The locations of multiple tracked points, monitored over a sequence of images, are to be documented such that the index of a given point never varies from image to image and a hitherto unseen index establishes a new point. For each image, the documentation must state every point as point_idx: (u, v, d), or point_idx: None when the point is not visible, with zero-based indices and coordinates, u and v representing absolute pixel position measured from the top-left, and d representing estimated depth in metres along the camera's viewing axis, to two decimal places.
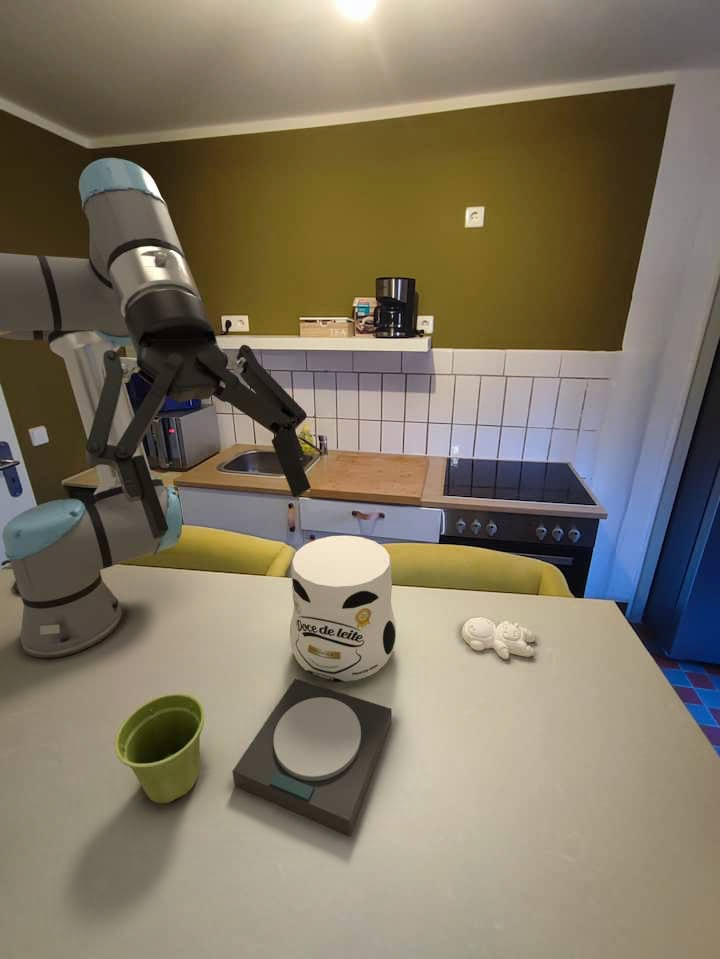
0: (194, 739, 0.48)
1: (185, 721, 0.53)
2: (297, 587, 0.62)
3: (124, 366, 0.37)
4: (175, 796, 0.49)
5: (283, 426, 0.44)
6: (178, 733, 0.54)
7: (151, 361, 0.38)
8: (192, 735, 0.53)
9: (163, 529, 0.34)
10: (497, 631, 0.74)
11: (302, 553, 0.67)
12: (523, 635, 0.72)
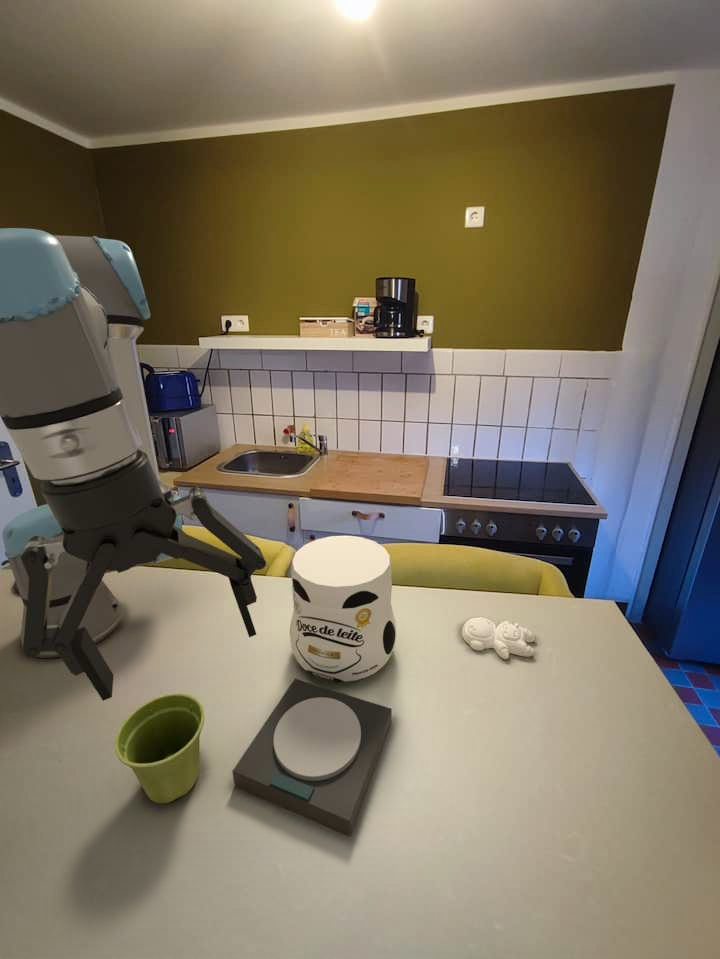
0: (194, 739, 0.48)
1: (185, 721, 0.53)
2: (297, 587, 0.62)
3: (48, 565, 0.33)
4: (175, 796, 0.49)
5: None
6: (178, 733, 0.54)
7: (79, 549, 0.33)
8: (192, 735, 0.53)
9: (107, 698, 0.39)
10: (497, 631, 0.74)
11: (302, 553, 0.67)
12: (523, 635, 0.72)
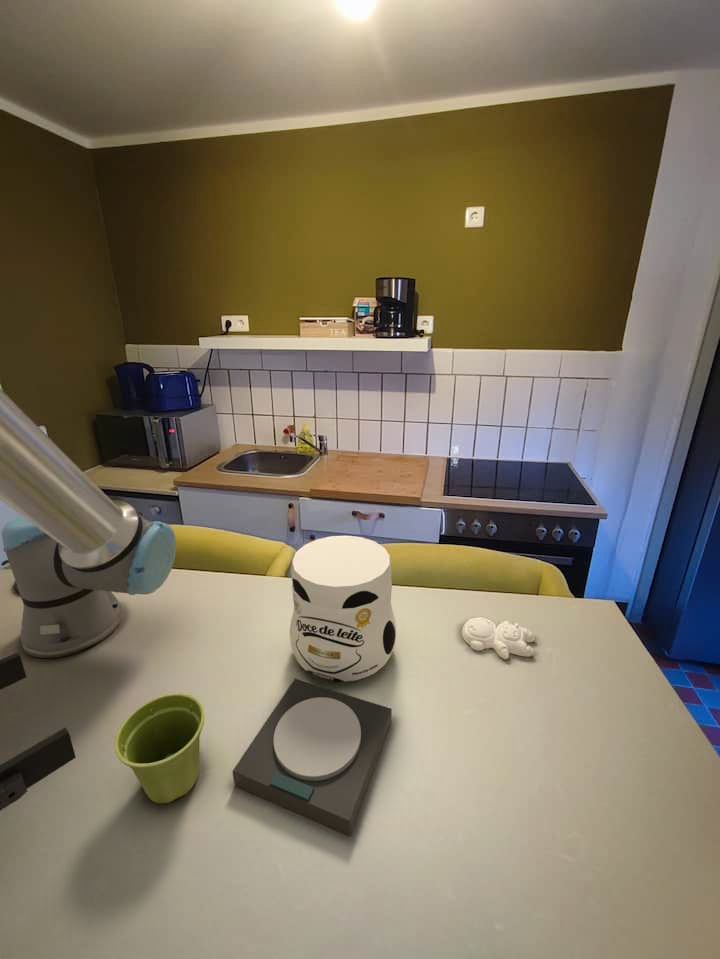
0: (194, 739, 0.48)
1: (185, 721, 0.53)
2: (297, 587, 0.62)
3: None
4: (175, 796, 0.49)
5: None
6: (178, 733, 0.54)
7: None
8: (192, 735, 0.53)
9: None
10: (497, 631, 0.74)
11: (302, 553, 0.67)
12: (523, 635, 0.72)
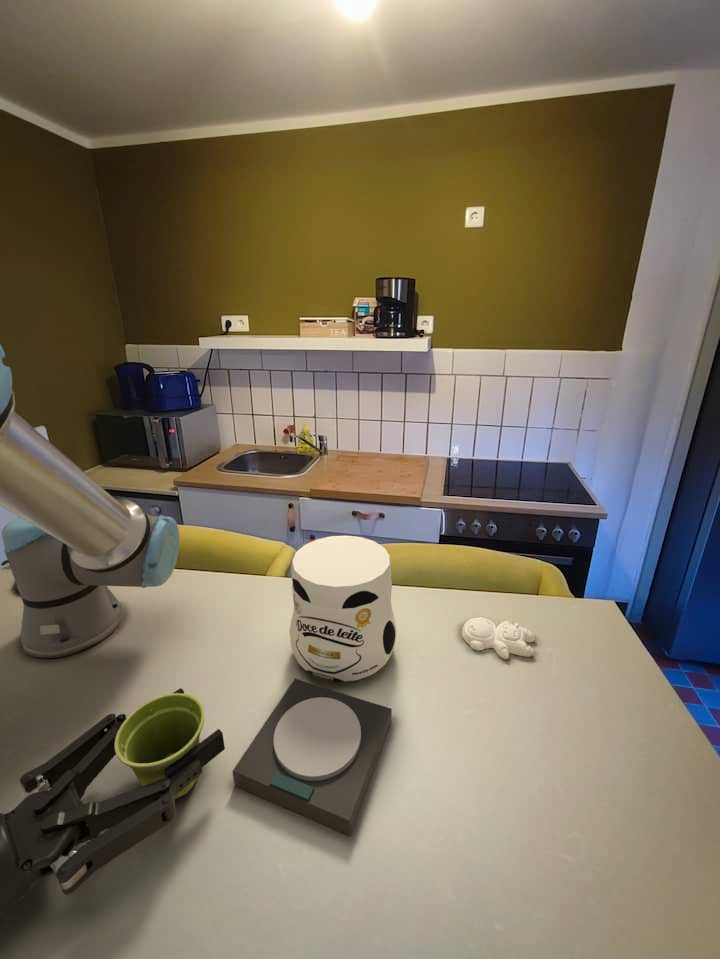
0: (194, 739, 0.48)
1: (185, 721, 0.53)
2: (297, 587, 0.62)
3: None
4: None
5: None
6: (178, 733, 0.54)
7: None
8: (192, 735, 0.53)
9: None
10: (497, 631, 0.74)
11: (302, 553, 0.67)
12: (523, 635, 0.72)
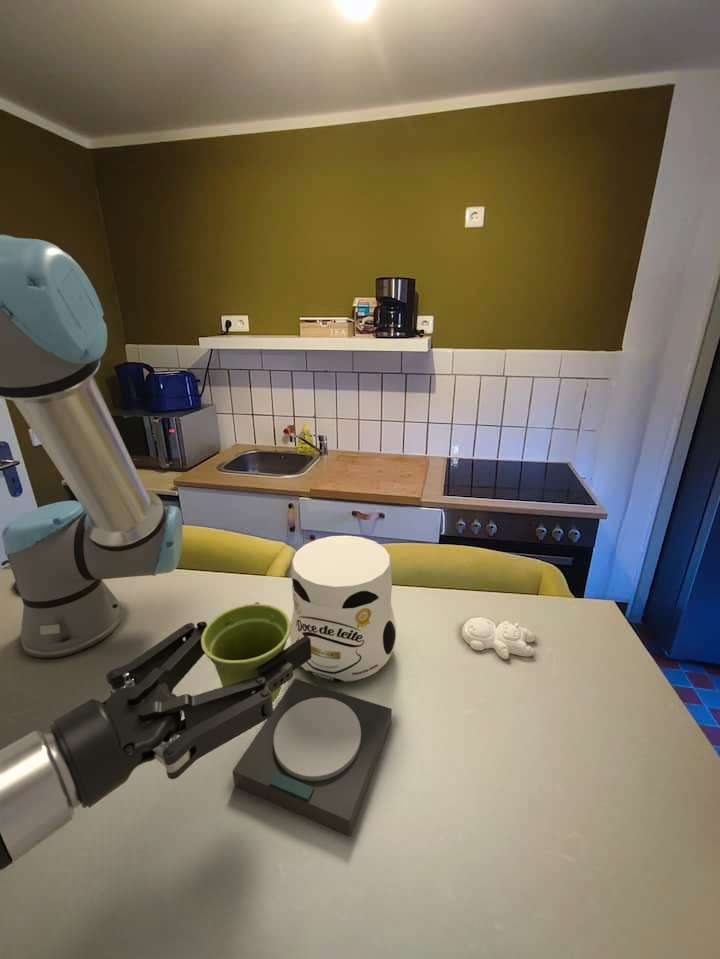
0: (284, 641, 0.45)
1: (265, 633, 0.51)
2: (297, 587, 0.62)
3: None
4: None
5: None
6: (257, 646, 0.52)
7: None
8: (272, 648, 0.51)
9: None
10: (497, 631, 0.74)
11: (302, 553, 0.67)
12: (523, 635, 0.72)
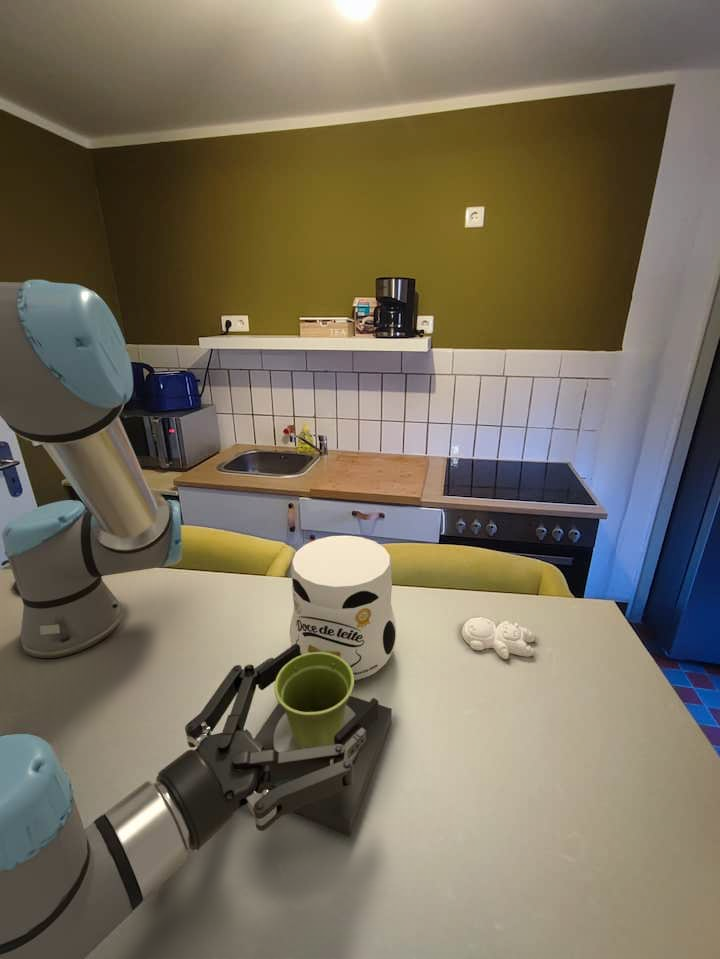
0: (351, 691, 0.50)
1: (326, 679, 0.55)
2: (297, 587, 0.62)
3: None
4: None
5: None
6: (317, 691, 0.56)
7: None
8: (332, 692, 0.55)
9: None
10: (497, 631, 0.74)
11: (302, 553, 0.67)
12: (523, 635, 0.72)
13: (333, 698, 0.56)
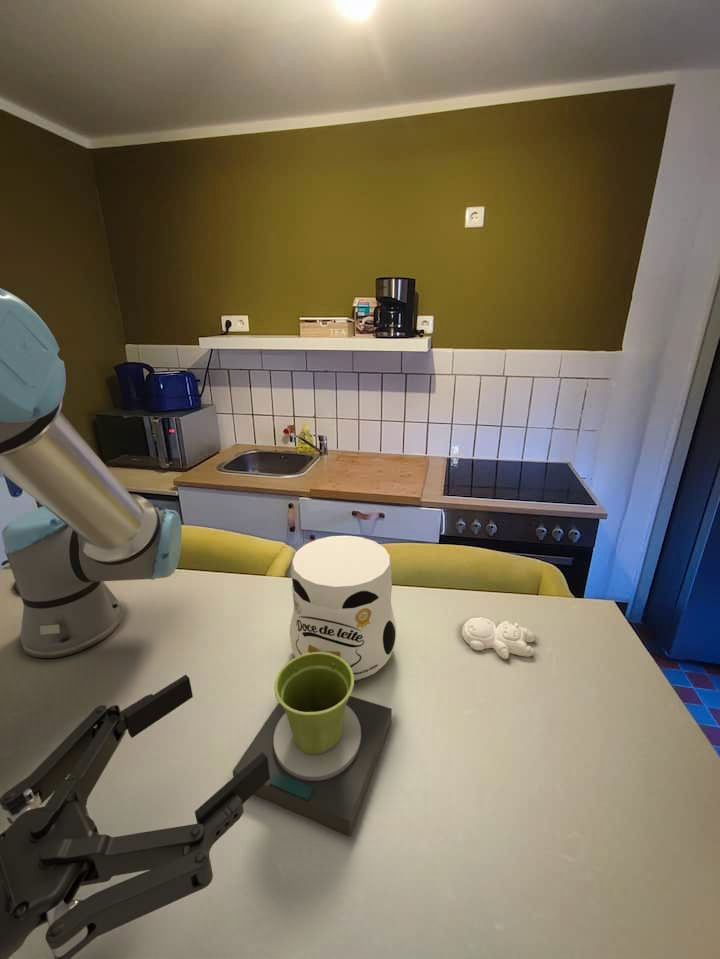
0: (351, 691, 0.50)
1: (326, 679, 0.55)
2: (297, 587, 0.62)
3: None
4: (327, 747, 0.51)
5: None
6: (317, 691, 0.56)
7: None
8: (332, 692, 0.55)
9: None
10: (497, 631, 0.74)
11: (302, 553, 0.67)
12: (523, 635, 0.72)
13: (333, 698, 0.56)
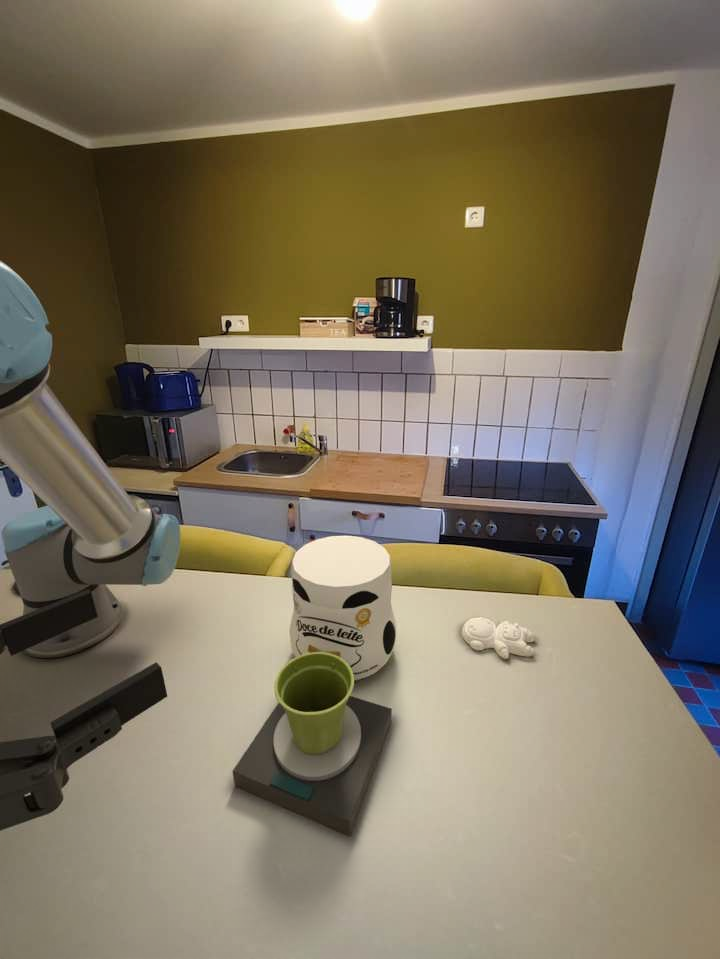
0: (351, 691, 0.50)
1: (326, 679, 0.55)
2: (297, 587, 0.62)
3: None
4: (327, 747, 0.51)
5: None
6: (317, 691, 0.56)
7: None
8: (332, 692, 0.55)
9: None
10: (497, 631, 0.74)
11: (302, 553, 0.67)
12: (523, 635, 0.72)
13: (333, 698, 0.56)
